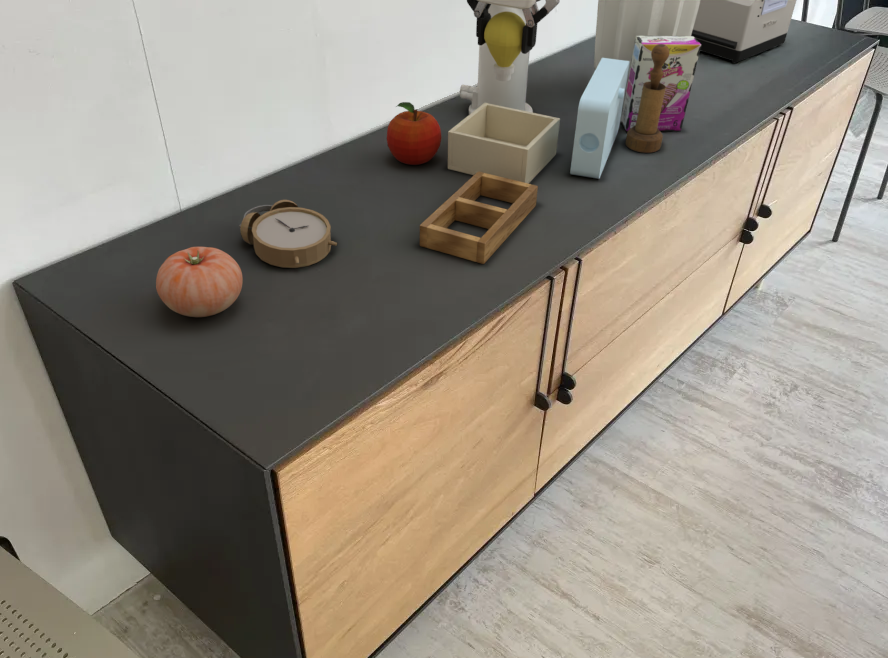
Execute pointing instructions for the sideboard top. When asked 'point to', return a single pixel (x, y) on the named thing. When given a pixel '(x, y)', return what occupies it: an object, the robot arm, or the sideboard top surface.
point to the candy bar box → (674, 78)
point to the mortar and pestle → (650, 107)
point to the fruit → (413, 136)
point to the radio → (599, 117)
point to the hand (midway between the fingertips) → (505, 45)
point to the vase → (639, 24)
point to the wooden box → (503, 142)
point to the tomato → (199, 281)
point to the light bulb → (504, 42)
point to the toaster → (741, 26)
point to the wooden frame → (478, 217)
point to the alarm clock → (287, 234)
